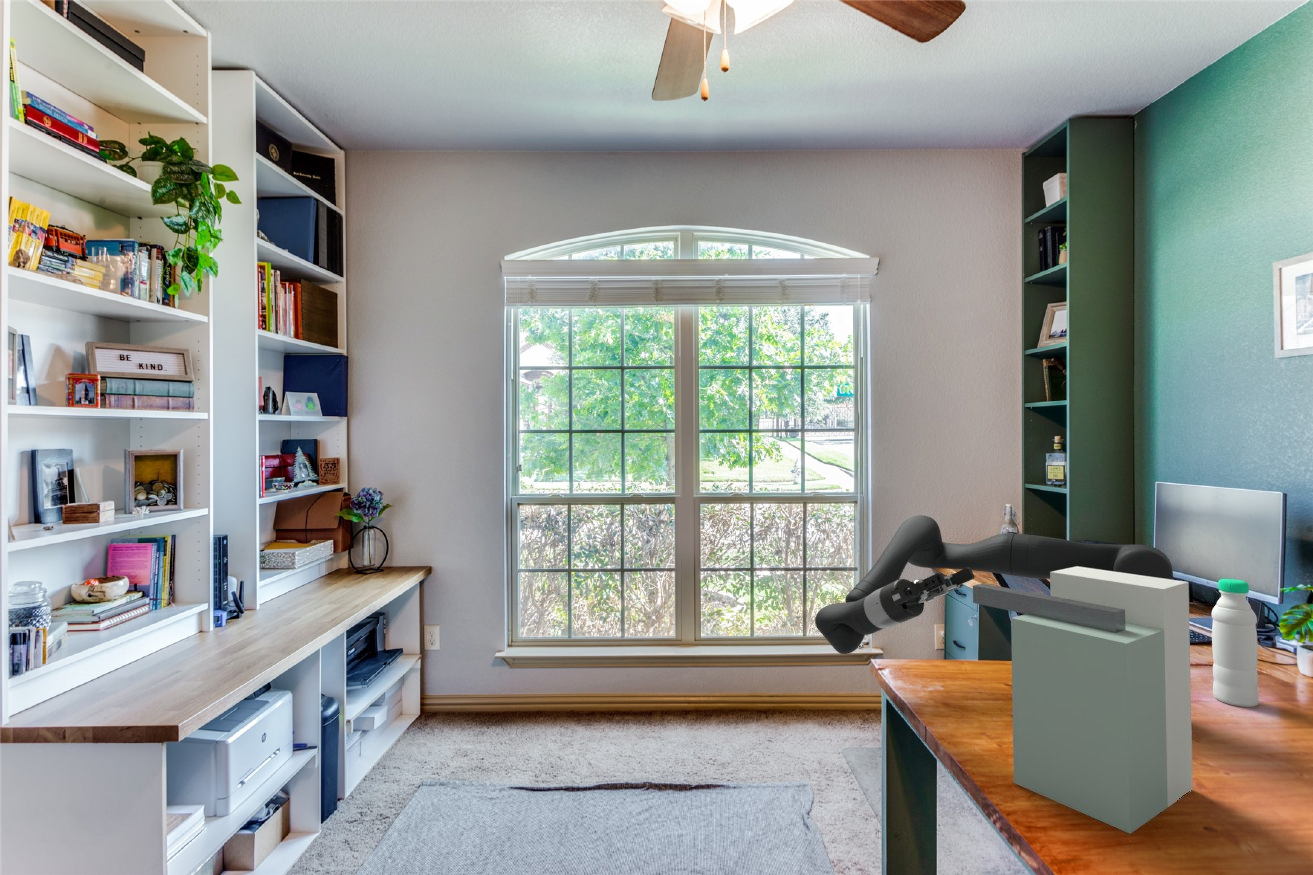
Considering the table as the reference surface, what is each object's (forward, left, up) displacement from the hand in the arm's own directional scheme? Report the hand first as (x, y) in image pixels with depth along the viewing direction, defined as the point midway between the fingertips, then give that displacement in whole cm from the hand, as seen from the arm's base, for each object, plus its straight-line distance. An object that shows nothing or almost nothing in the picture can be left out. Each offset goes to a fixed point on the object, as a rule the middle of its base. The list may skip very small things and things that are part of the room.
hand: (957, 575), depth 117 cm
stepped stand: (-11, +18, -30) cm, 37 cm away
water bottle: (-67, -3, -30) cm, 74 cm away
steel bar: (-5, +14, -4) cm, 15 cm away
